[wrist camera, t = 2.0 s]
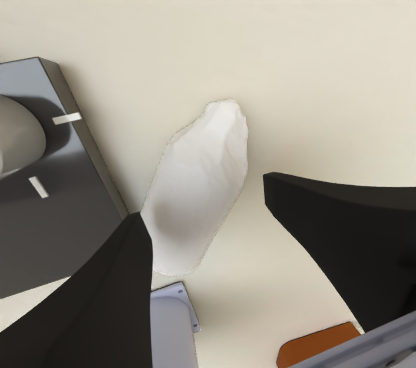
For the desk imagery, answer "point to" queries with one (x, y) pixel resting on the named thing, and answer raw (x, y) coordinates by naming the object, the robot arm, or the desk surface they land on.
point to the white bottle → (196, 187)
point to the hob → (53, 186)
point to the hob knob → (18, 138)
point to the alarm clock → (315, 344)
